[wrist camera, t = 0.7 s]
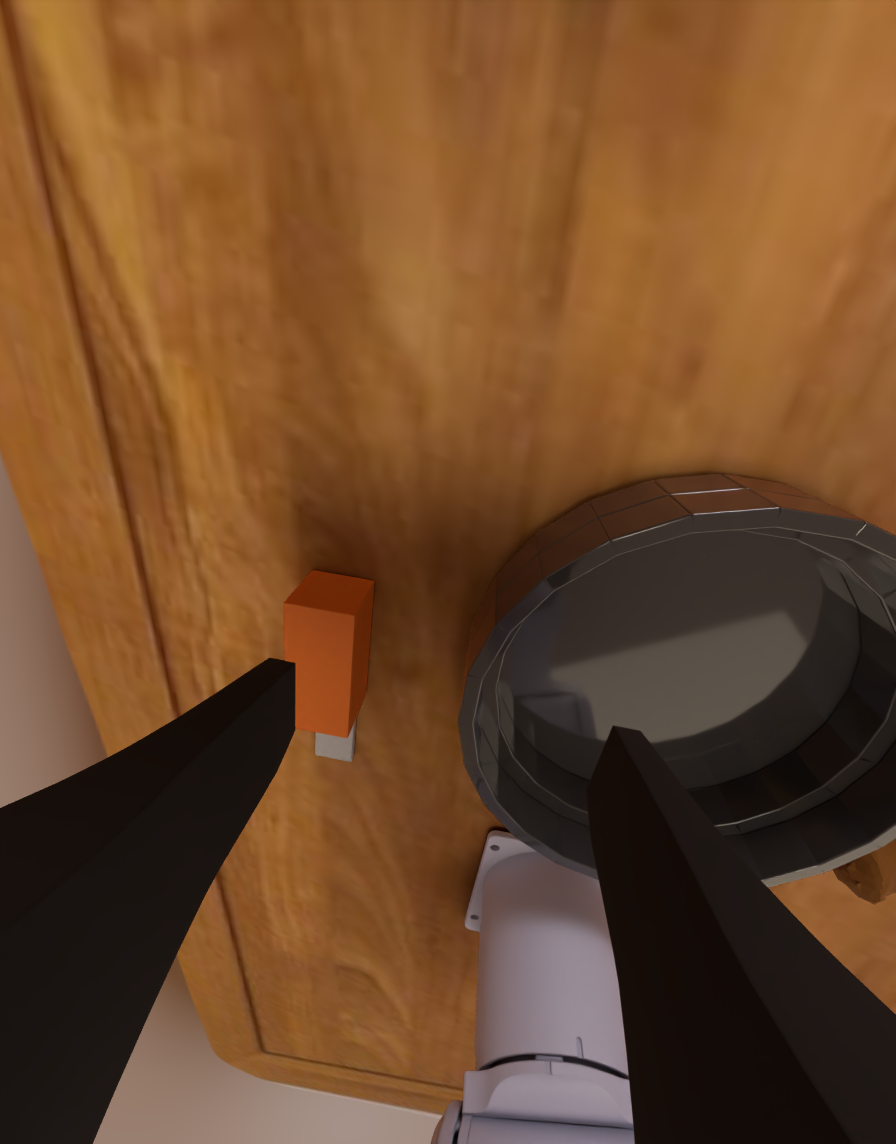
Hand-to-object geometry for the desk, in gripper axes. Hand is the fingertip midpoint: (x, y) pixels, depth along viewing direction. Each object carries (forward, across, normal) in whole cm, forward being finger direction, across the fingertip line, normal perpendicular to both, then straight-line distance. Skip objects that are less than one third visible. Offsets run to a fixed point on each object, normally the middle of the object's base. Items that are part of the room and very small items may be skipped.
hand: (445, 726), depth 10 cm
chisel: (+10, +5, +7) cm, 13 cm away
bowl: (+10, -9, +3) cm, 14 cm away
